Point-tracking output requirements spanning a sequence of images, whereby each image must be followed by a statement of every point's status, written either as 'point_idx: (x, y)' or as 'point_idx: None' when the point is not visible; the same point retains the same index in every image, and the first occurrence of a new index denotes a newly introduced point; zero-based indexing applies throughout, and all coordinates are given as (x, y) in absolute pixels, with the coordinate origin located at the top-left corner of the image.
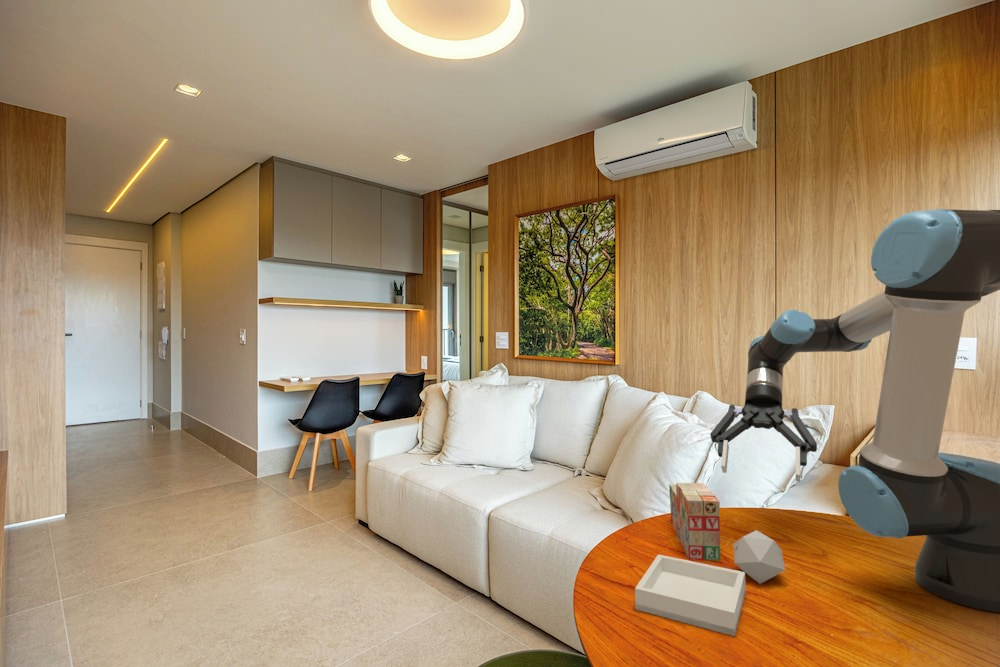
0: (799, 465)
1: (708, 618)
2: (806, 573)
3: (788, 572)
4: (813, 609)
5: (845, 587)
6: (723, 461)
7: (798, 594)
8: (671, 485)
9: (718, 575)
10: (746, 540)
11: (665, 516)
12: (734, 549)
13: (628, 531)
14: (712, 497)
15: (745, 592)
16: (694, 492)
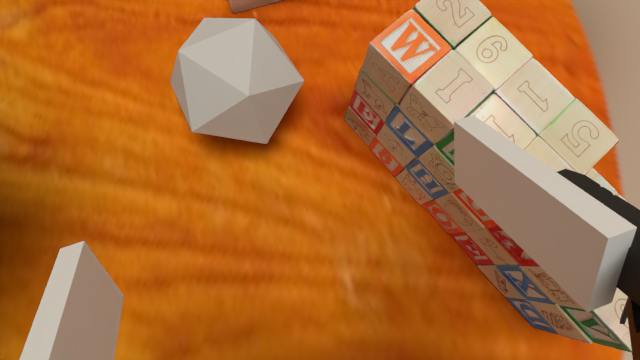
0: (44, 297)
1: None
2: (166, 202)
3: (200, 175)
4: (106, 40)
5: (76, 192)
6: (481, 130)
7: (148, 82)
8: None
9: None
10: (244, 19)
11: None
12: (290, 61)
13: (601, 115)
14: (414, 70)
15: (232, 12)
16: (490, 70)
